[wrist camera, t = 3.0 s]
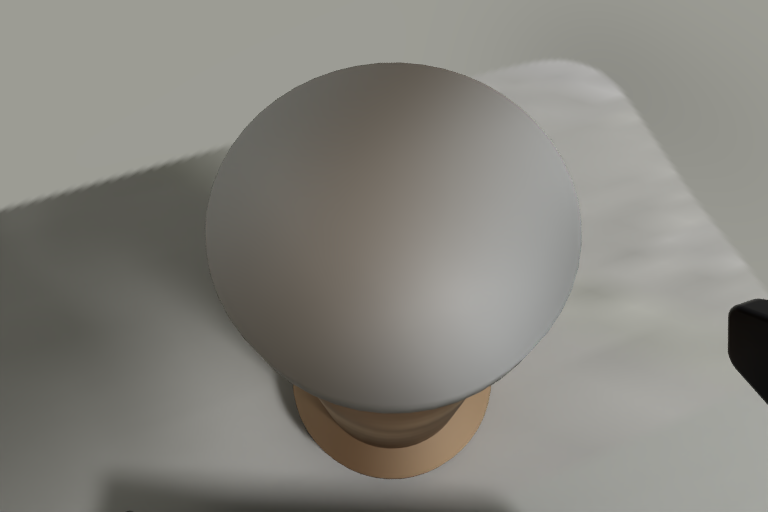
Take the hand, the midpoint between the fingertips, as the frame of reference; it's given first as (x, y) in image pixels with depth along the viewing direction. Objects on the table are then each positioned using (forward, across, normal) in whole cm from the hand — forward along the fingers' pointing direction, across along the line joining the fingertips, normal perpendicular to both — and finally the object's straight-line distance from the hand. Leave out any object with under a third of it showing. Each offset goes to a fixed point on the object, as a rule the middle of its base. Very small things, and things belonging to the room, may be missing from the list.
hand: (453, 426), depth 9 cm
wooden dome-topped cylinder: (+9, 0, +5) cm, 11 cm away
